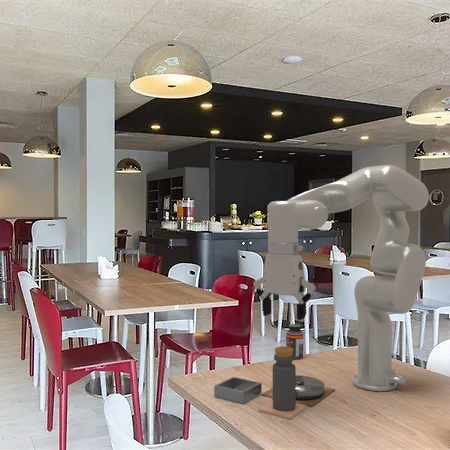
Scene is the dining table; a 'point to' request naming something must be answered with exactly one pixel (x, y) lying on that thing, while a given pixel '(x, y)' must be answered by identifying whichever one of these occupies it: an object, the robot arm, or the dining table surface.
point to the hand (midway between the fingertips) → (283, 316)
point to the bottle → (284, 379)
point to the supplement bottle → (295, 340)
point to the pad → (285, 414)
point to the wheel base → (305, 402)
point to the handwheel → (308, 388)
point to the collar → (228, 393)
